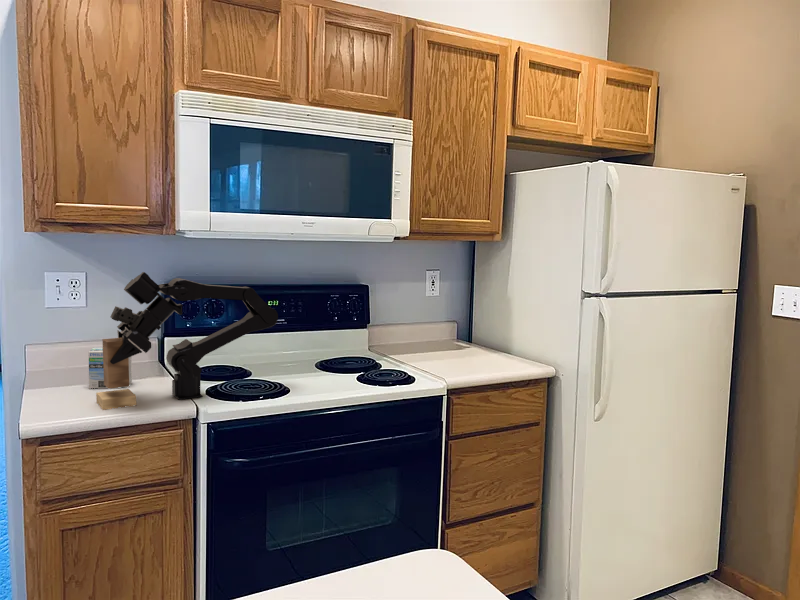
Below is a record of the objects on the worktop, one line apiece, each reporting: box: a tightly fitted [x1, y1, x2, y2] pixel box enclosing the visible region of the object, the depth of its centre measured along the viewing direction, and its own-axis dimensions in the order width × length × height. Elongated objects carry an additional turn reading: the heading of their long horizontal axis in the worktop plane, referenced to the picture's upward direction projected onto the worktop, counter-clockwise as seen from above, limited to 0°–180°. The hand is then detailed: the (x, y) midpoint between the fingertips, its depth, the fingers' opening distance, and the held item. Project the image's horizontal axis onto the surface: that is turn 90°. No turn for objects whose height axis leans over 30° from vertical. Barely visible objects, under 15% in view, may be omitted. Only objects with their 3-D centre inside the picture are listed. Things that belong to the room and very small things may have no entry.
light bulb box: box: [88, 347, 133, 390], centre depth 185 cm, size 11×7×11 cm, turn 105°
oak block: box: [95, 388, 137, 411], centre depth 167 cm, size 8×8×3 cm
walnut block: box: [102, 337, 130, 390], centre depth 166 cm, size 5×5×12 cm
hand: (109, 360), depth 165 cm, fingers closed on walnut block, 5 cm apart
